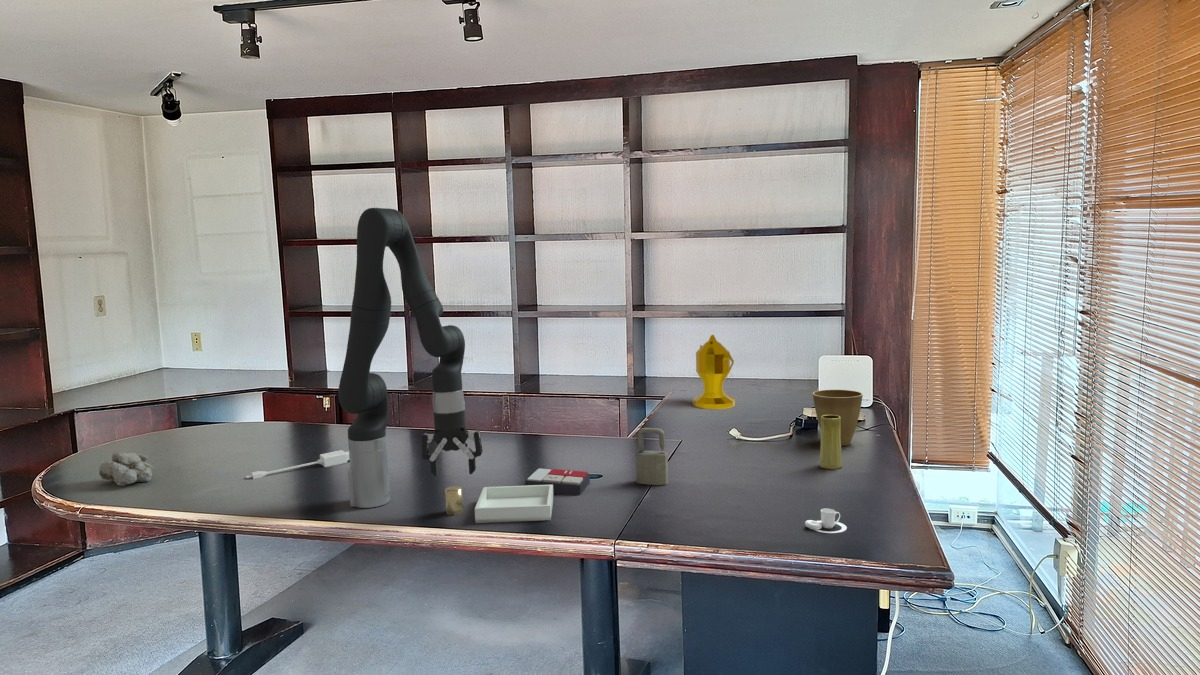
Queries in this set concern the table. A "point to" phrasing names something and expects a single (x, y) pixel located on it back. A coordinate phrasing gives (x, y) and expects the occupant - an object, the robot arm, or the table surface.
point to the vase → (830, 442)
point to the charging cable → (324, 460)
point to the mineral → (126, 468)
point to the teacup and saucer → (826, 521)
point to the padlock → (651, 461)
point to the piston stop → (454, 500)
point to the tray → (514, 504)
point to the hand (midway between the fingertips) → (454, 474)
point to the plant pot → (839, 409)
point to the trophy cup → (713, 375)
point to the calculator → (560, 480)
